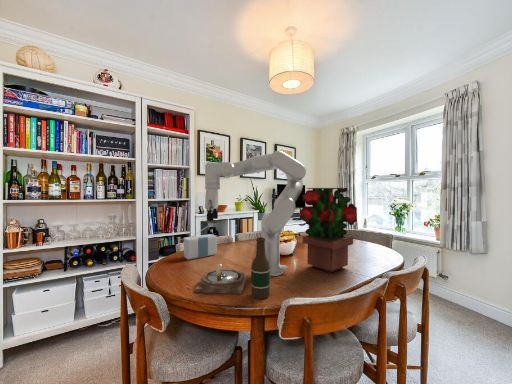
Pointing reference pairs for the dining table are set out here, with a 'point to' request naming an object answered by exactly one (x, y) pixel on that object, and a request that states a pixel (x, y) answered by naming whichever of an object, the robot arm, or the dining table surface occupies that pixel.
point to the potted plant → (327, 227)
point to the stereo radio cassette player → (200, 246)
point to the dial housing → (222, 284)
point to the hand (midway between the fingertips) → (212, 219)
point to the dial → (222, 276)
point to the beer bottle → (260, 272)
